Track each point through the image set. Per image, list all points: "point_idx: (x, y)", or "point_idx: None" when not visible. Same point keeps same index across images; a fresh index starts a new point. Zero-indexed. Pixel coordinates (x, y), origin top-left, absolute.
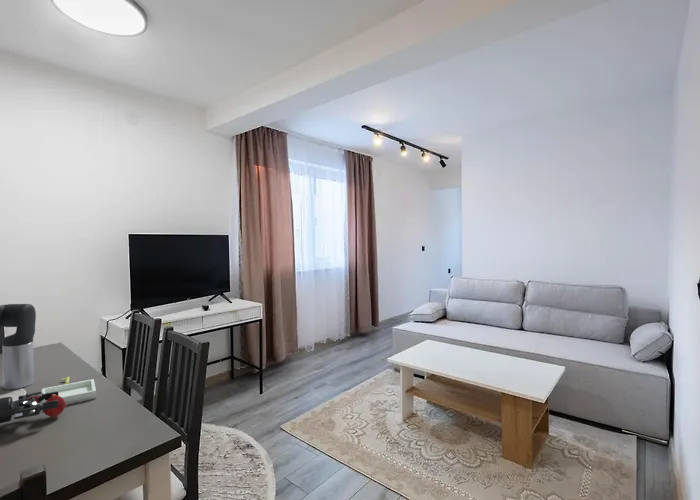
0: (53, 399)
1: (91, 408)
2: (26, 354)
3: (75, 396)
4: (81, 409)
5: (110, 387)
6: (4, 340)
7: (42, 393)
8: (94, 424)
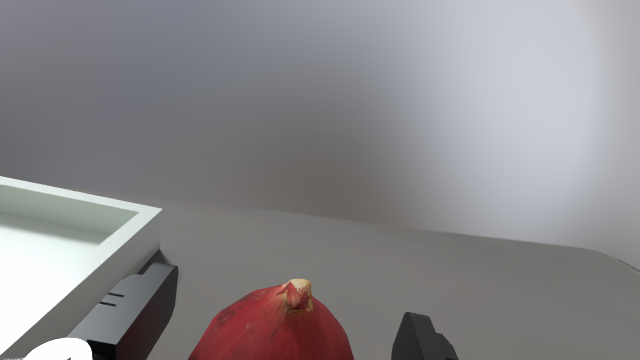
0: (329, 327)
1: None
2: None
3: (105, 269)
4: None
5: None
6: None
7: (66, 348)
8: (484, 328)
